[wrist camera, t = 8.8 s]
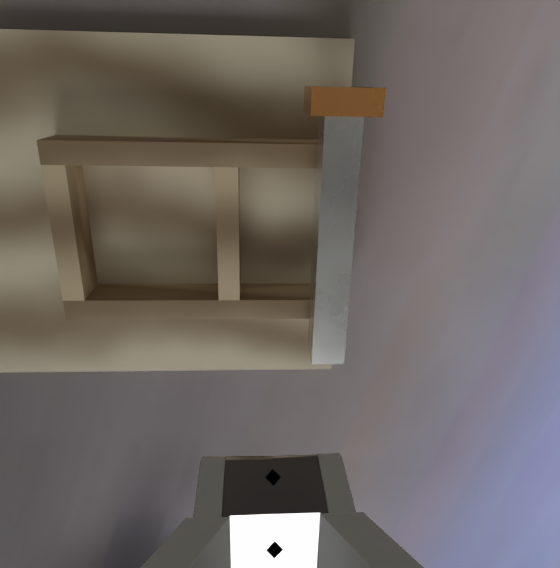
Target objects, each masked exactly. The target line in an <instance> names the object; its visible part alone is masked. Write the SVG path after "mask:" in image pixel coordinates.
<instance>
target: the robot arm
mask: <svg viewBox="0 0 560 568" xmlns="http://www.w3.org/2000/svg"><path fill="white" fill-rule="evenodd" d="M141 568H424V567H422V566H421V565H420V564H419V563H418V562H417V561H416V560H415V559H414V558H413V557H411V556H410V555H409V554H408V553H407V552H406V551H405V550H404V549H403V548H402V547H401V546H399V545H398V544H397V543H396V542H395V541H394V540H393V539H392V538H391V537H390V536H389V535H387V534H386V533H385V532H384V531H383V530H382V529H381V528H380V527H379V526H378V525H376V524H375V523H374V522H373V521H372V520H371V519H370V518H369V517H368V516H367V515H366V514H364V513H363V512H357V513H356V510H355V506H354V502H353V498H352V494H351V490H350V487H349V483H348V479H347V475H346V471H345V467H344V463H343V459H342V456H341V455H340V454H339V453H330V454H317V455H287V456H226V457H202V459H201V461H200V468H199V476H198V483H197V491H196V499H195V507H194V514H193V518H186V519H185V520H184V521H183V522H182V523H181V524H180V525H179V526H178V527H177V529H176V530H175V531H174V532H173V533H172V534H171V535H170V536H169V537H168V538H167V540H166V541H165V542H164V543H163V544H162V545H161V546H160V547H159V548H158V549H157V551H156V552H155V553H154V554H153V555H152V556H151V557H150V558H149V559H148V560H147V562H146V563H145V564H144V565H143V566H142V567H141Z"/></svg>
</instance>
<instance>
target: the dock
mask: <svg viewBox="0 0 560 568" xmlns="http://www.w3.org/2000/svg"><path fill="white" fill-rule="evenodd" d="M354 45H355V39H341V38H305V37H270V36H234V35H199V34H163V33H127V32H92V31H56V30H21V29H0V372H85V371H182V370H279V369H331V366H332V364H311V359H310V354H309V349H308V345H307V344H308V323H309V303H310V282H311V262H312V241H313V221H314V200H315V179H316V159H317V138H318V118H319V116H310V115H308V114H307V113H305V112H304V87H305V86H333V87H352V73H353V59H354Z"/></svg>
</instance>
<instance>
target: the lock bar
mask: <svg viewBox="0 0 560 568" xmlns="http://www.w3.org/2000/svg"><path fill="white" fill-rule="evenodd" d="M384 97H385V88H373V87H333V86H305V87H304V112H305V113H307V114H308V115H310V116H319V118H318V138H317V159H316V179H315V200H314V221H313V241H312V262H311V282H310V303H309V323H308V344H307V345H308V349H309V354H310V359H311V364H344V357H345V345H346V333H347V321H348V309H349V297H350V285H351V273H352V261H353V249H354V237H355V225H356V213H357V200H358V188H359V176H360V164H361V152H362V140H363V128H364V117H383V107H384Z"/></svg>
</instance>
